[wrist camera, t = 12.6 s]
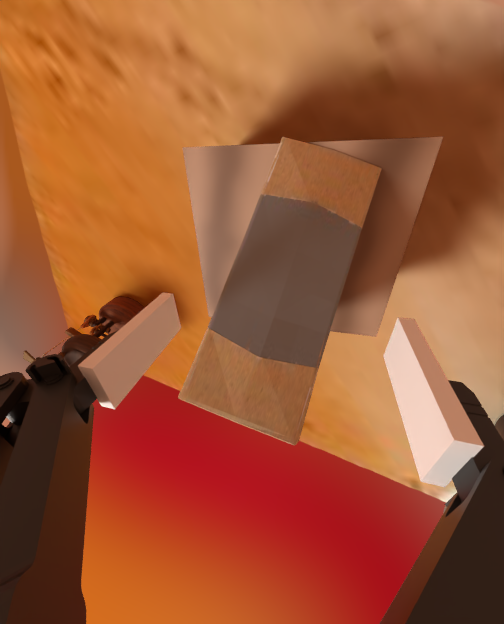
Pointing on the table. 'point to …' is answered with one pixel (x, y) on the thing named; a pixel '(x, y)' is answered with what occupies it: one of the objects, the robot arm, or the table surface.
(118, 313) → the small figurine
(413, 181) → the stool
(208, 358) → the sandwich container
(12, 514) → the robot arm
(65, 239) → the table surface
